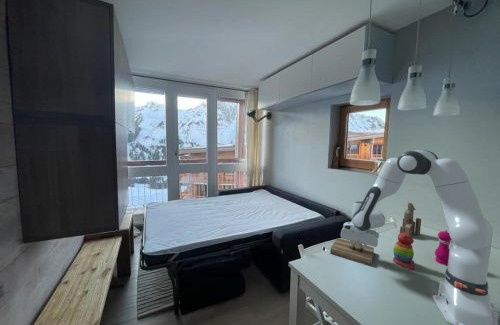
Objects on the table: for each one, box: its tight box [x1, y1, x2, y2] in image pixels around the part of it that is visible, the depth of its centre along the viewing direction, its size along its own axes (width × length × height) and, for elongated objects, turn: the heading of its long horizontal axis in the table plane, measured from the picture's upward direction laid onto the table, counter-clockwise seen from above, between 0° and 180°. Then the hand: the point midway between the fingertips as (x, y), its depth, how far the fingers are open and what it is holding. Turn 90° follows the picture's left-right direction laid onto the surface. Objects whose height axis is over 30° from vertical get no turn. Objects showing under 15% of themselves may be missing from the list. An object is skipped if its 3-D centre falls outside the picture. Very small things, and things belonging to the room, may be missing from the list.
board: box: [329, 237, 375, 267], centre depth 127 cm, size 18×22×4 cm
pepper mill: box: [434, 228, 452, 266], centre depth 119 cm, size 7×7×20 cm
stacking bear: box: [392, 232, 415, 270], centre depth 117 cm, size 11×10×18 cm
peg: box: [354, 240, 363, 252], centre depth 125 cm, size 4×4×10 cm
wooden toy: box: [399, 202, 422, 238], centre depth 157 cm, size 16×7×25 cm, turn 114°
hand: (357, 248), depth 126 cm, fingers closed on peg, 4 cm apart
